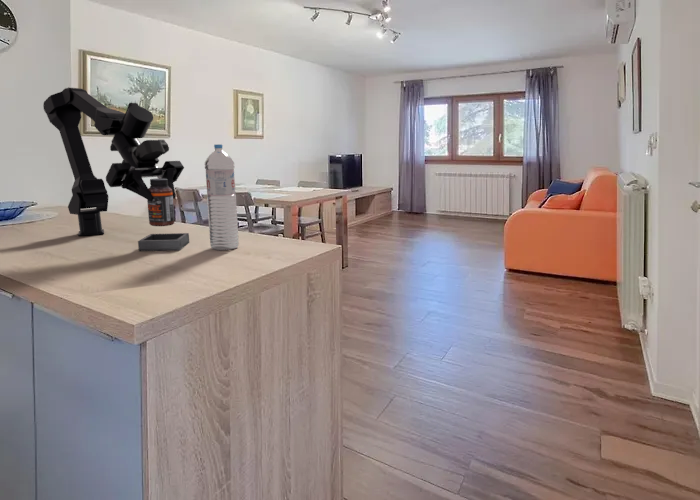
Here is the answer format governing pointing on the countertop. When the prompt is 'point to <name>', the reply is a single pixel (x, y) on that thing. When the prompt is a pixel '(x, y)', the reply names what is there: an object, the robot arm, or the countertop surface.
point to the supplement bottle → (160, 203)
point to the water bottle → (221, 200)
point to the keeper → (164, 242)
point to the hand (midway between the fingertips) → (163, 198)
